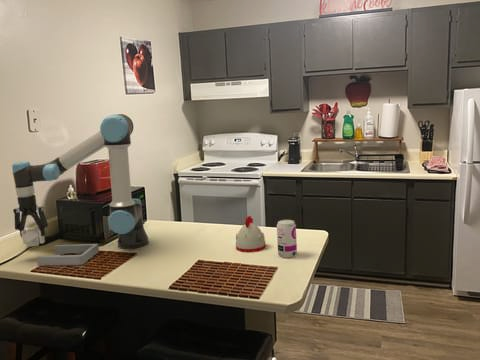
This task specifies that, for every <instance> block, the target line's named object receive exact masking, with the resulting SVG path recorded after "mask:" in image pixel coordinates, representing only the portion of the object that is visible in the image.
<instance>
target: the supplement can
mask: <svg viewBox="0 0 480 360" xmlns="http://www.w3.org/2000/svg"><path fill="white" fill-rule="evenodd" d="M276 236H277V237H276V239H277V255H278V256H279V257H280V258H283V259H292V258H295V257H296V256H297V255H298V249H297V248H298V246H297V225H296V222H295V220H292V219H281V220H278V221H277V223H276Z"/></svg>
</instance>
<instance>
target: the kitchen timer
mask: <svg viewBox="0 0 480 360" xmlns="http://www.w3.org/2000/svg"><path fill="white" fill-rule="evenodd" d="M265 239H266V238H265V234H264V232H262V229H261V228H259V226H258V225H257V224H255V223H254V219H253V217H252V216H251V215H247V218H245V221H244V224H243V225H242V226H241V228H239V231H238V232H237V233H236V234H235V250H236V251H239V252H241V253H257V252H261V251H263V250H265V249H266V247H267V246H266V245H267V244H266V240H265Z"/></svg>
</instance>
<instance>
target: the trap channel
mask: <svg viewBox="0 0 480 360" xmlns="http://www.w3.org/2000/svg"><path fill="white" fill-rule="evenodd" d="M53 248H54V254H55V255H38V256H37V257H36V261H37V266H38V267H42V266H45V265H50V266H83V264H84V265H86V263H88V262H89V261H90V260H91V259H92V258H93V257H94V255H97V254H98V253H99V252H100V249H99V243H83V244H56V245H54V246H53ZM68 253H75V254H68ZM66 254H67V255H66ZM89 259H90V260H89ZM88 260H89V261H88Z"/></svg>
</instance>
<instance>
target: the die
mask: <svg viewBox="0 0 480 360" xmlns="http://www.w3.org/2000/svg"><path fill="white" fill-rule="evenodd" d="M38 230H39V227H35V228H27V229H26V233H25V234H24V235H23V236H22V237H21V240H22V242H23V241H24V242H25V244H24V245H26V246H27V247H28V248H29V247H37V246H39V245H40V238H39V232H38Z"/></svg>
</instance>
